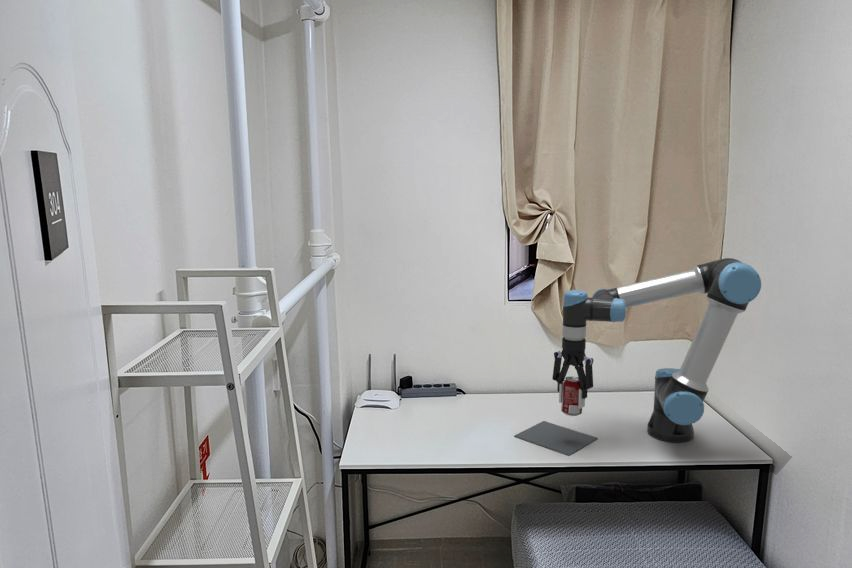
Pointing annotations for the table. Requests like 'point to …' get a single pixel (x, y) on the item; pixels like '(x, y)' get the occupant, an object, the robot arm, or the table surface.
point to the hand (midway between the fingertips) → (571, 404)
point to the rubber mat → (556, 438)
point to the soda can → (571, 396)
